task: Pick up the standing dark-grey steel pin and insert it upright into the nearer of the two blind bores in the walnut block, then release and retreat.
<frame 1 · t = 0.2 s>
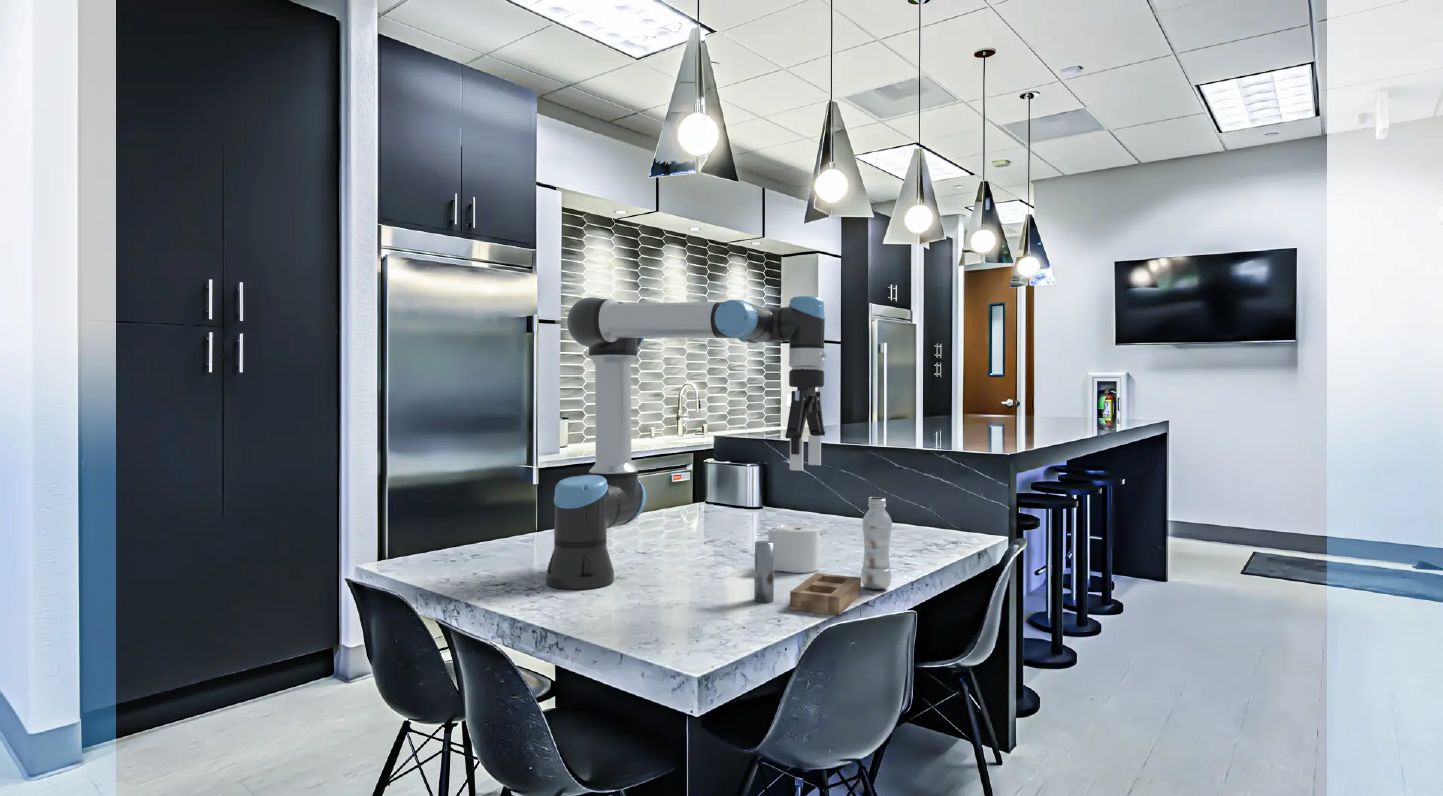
hand: (805, 467, 167), 27 cm above the table, fingers open, 13 cm apart
plastic bottle: (876, 589, 172), on the table
pin: (763, 600, 161), on the table
toilet tissue: (796, 569, 191), on the table
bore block: (826, 601, 161), on the table
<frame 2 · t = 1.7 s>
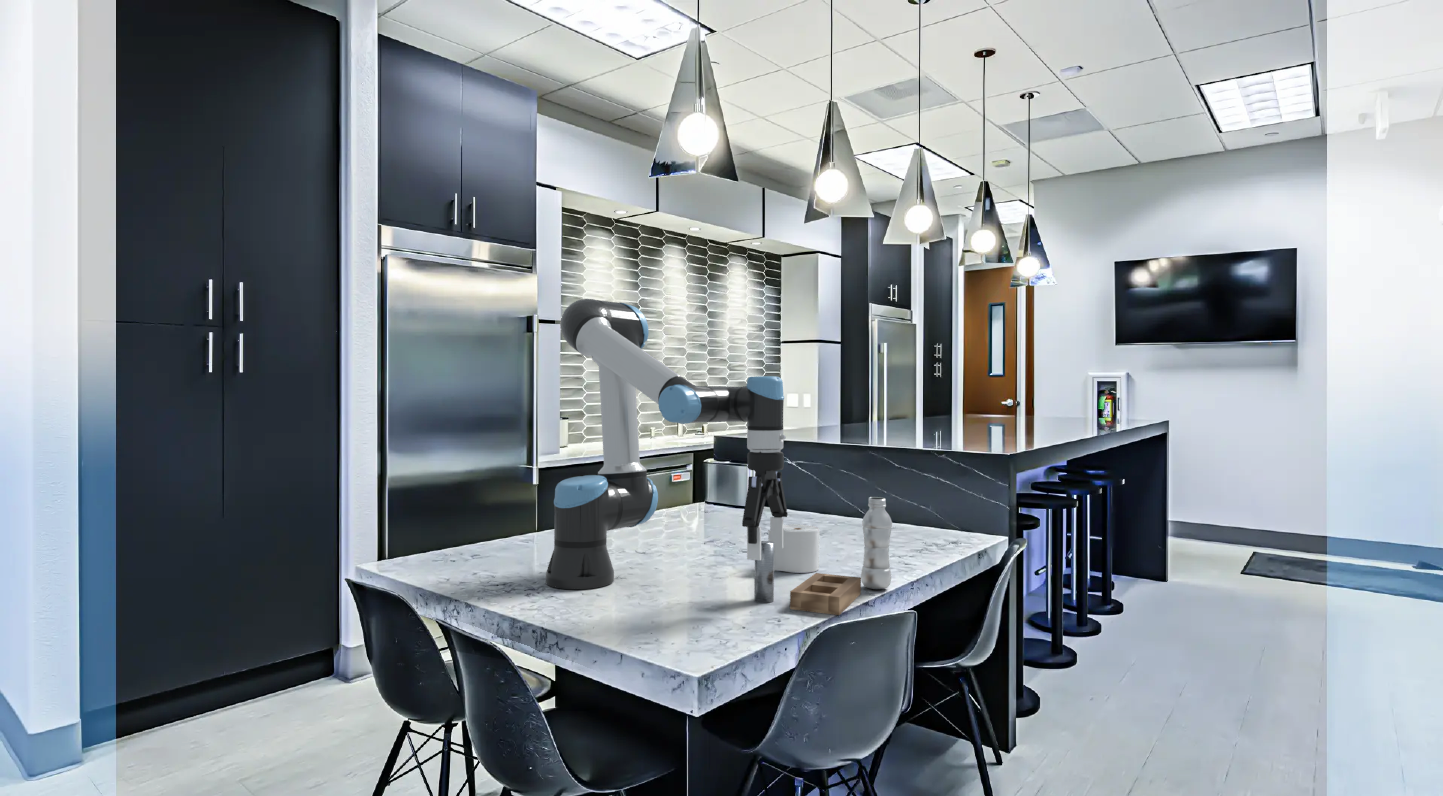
hand: (765, 553, 161), 10 cm above the table, fingers open, 13 cm apart
nothing on the table moved.
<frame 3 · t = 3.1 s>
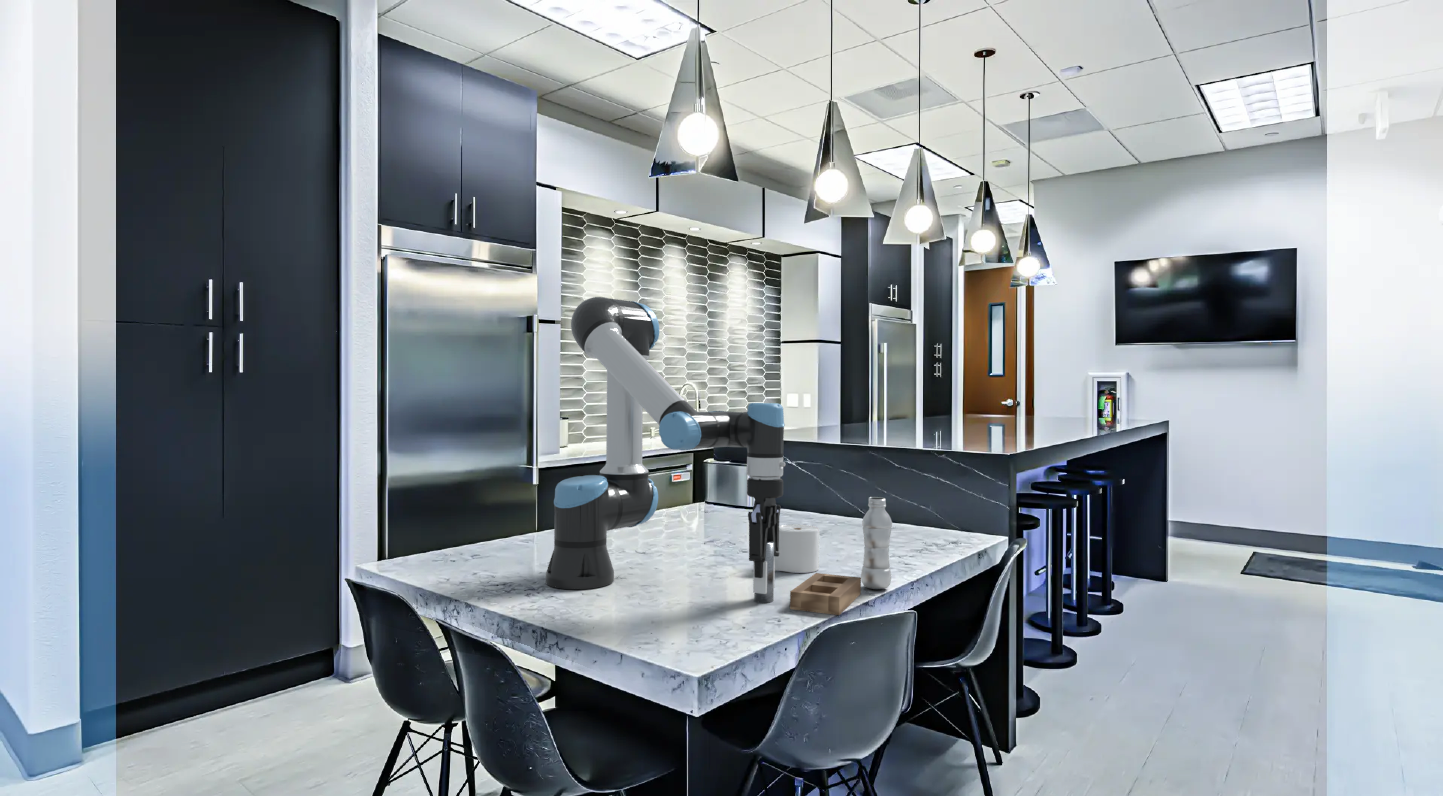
hand: (763, 590, 161), 2 cm above the table, fingers closed on pin, 4 cm apart
pin: (763, 600, 161), on the table, touching gripper
everything else where it was.
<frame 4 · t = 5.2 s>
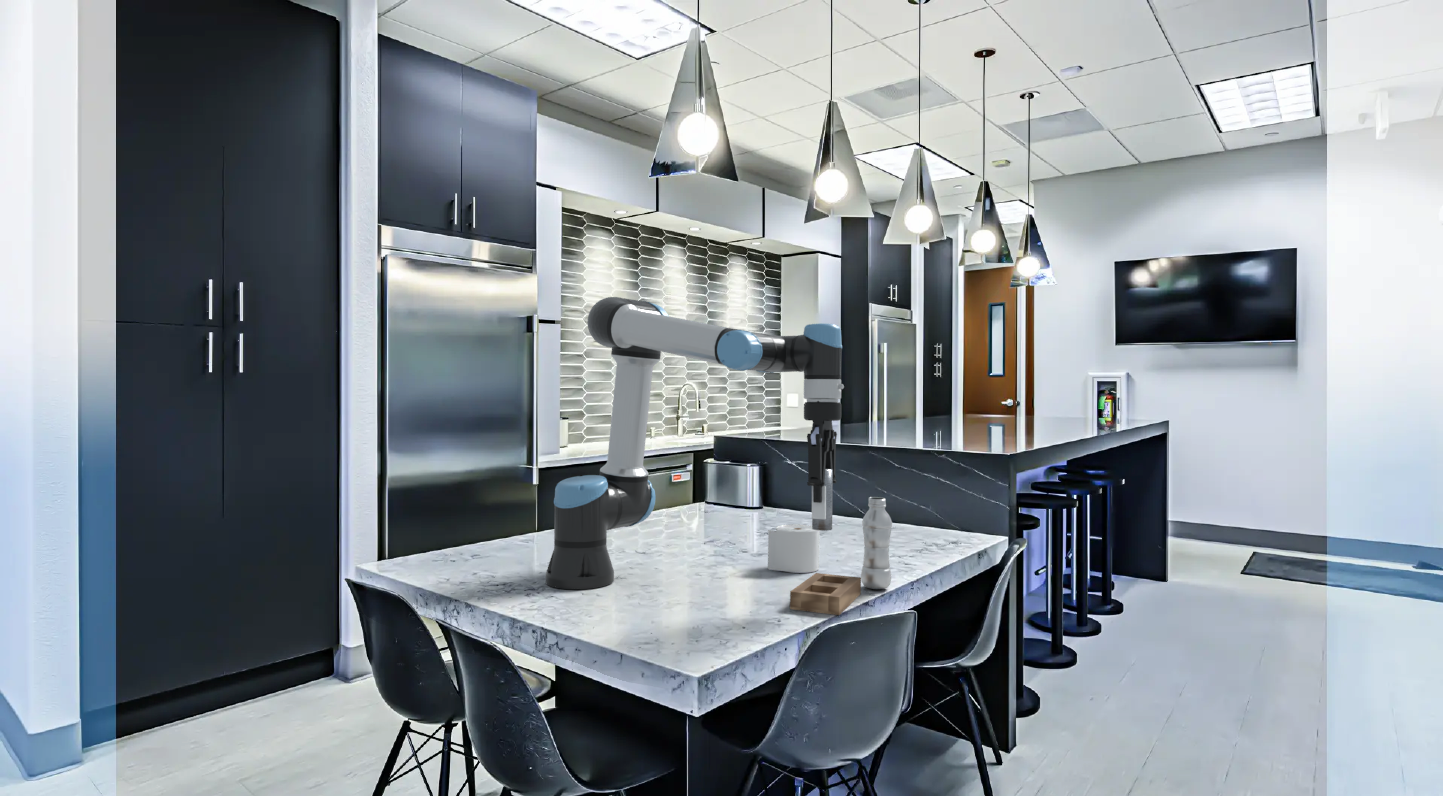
hand: (822, 516, 157), 18 cm above the table, fingers closed on pin, 4 cm apart
pin: (822, 528, 157), point 16 cm above the table, touching gripper
everything else where it was.
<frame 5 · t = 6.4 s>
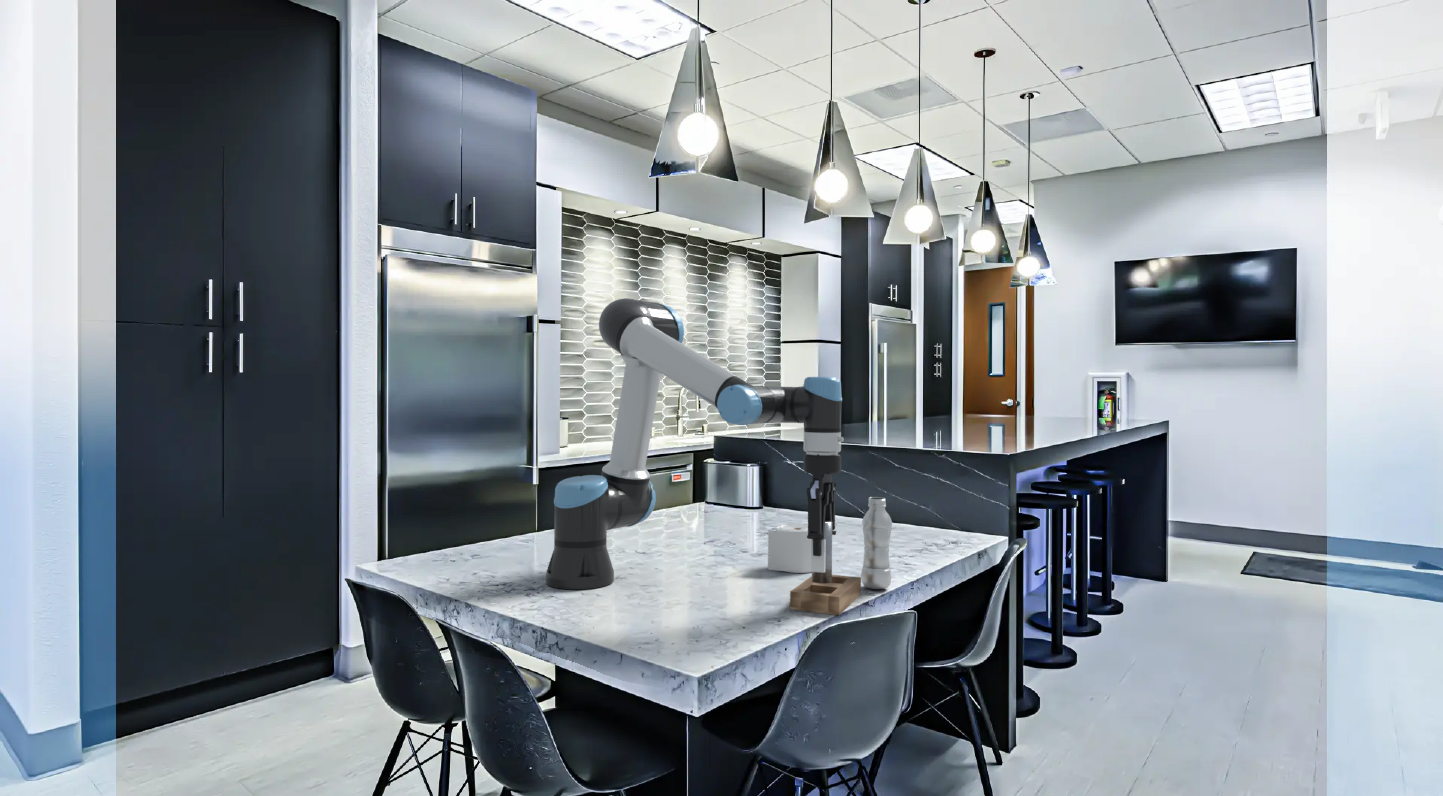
hand: (821, 569, 157), 8 cm above the table, fingers closed on pin, 4 cm apart
pin: (821, 581, 157), point 5 cm above the table, touching gripper
everything else where it was.
when the fingers open (5 cm above the table, at t = 7.2 s): pin stays where it is, resting on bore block.
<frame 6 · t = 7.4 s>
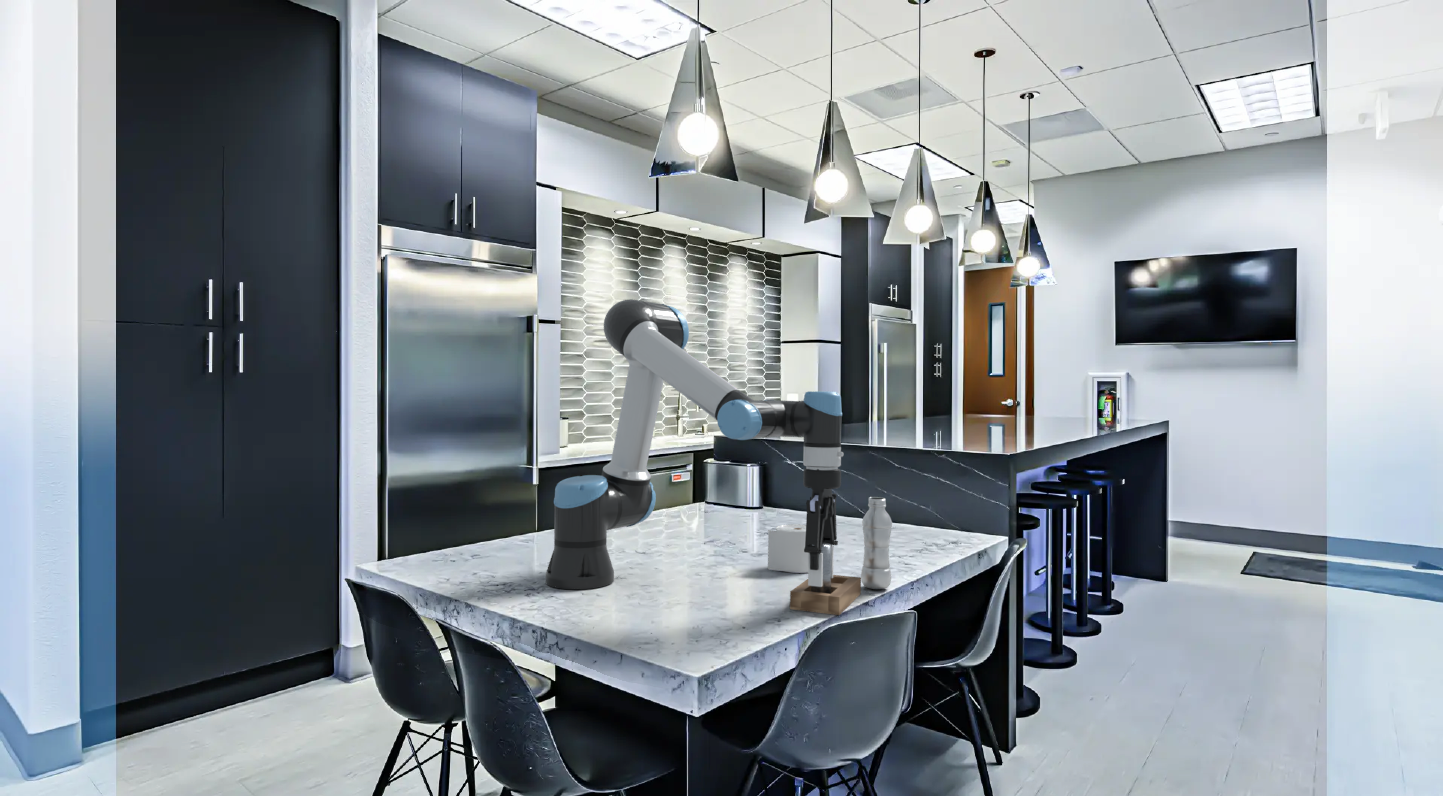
hand: (821, 581, 157), 5 cm above the table, fingers open, 7 cm apart
pin: (820, 603, 157), point 1 cm above the table, touching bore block
everything else where it was.
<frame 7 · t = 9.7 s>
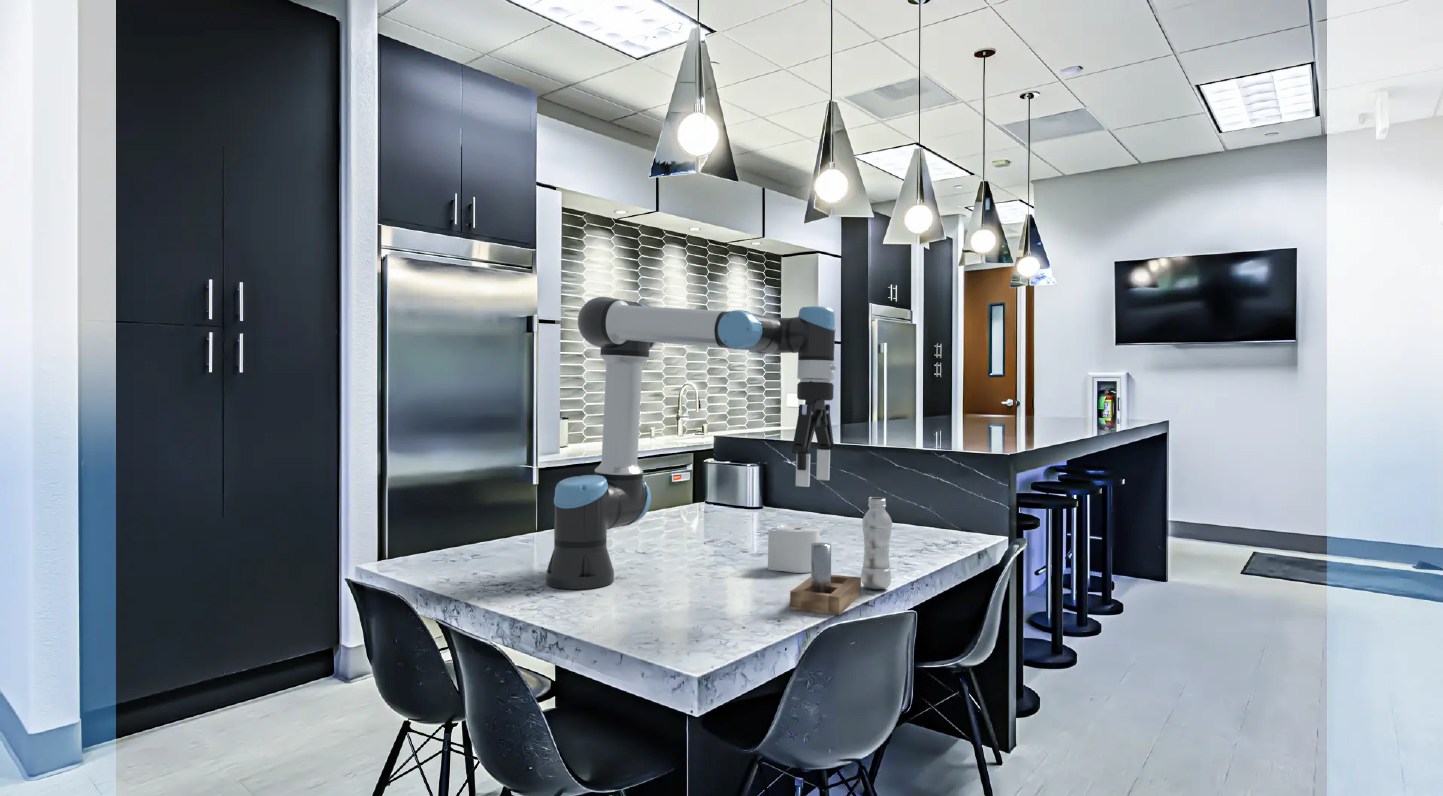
hand: (813, 483, 162), 24 cm above the table, fingers open, 13 cm apart
nothing on the table moved.
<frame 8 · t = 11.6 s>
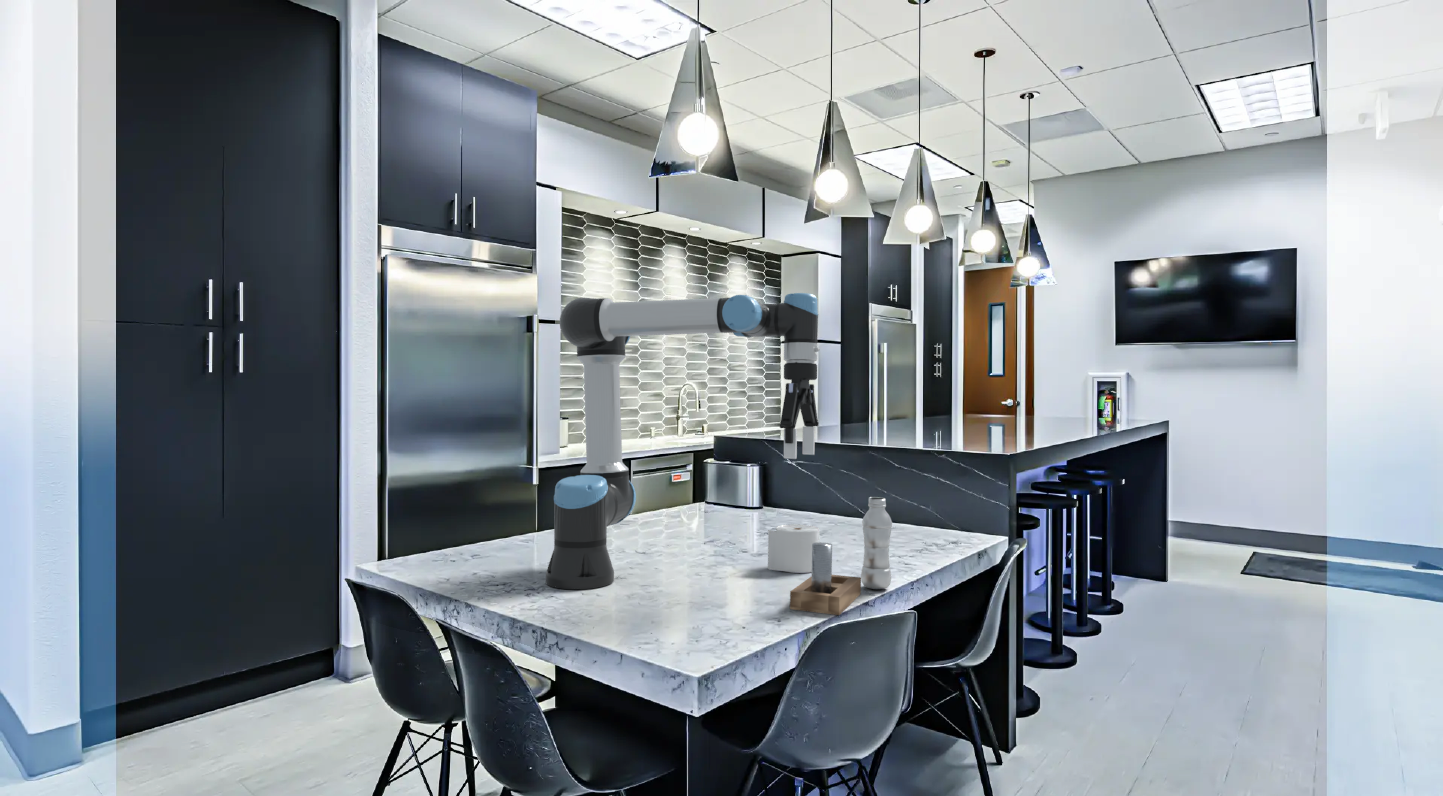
hand: (799, 456, 176), 29 cm above the table, fingers open, 13 cm apart
nothing on the table moved.
at the end: pin 0.1 cm from the target spot on the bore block, point 0.5 cm above the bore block's base; pin tilted 1°; the gripper is holding nothing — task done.
